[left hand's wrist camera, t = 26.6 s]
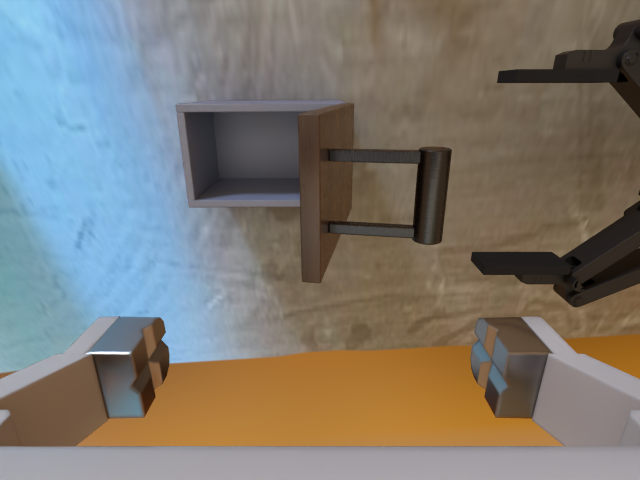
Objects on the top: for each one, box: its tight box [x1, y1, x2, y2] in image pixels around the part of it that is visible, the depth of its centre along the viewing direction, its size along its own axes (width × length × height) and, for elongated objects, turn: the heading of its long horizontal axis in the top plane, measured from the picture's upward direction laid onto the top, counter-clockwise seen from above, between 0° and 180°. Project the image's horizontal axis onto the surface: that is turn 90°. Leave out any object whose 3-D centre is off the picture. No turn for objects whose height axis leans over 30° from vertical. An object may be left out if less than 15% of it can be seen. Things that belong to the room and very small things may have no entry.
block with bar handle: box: [298, 103, 452, 283], centre depth 29 cm, size 16×10×8 cm
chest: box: [176, 100, 345, 207], centre depth 43 cm, size 16×10×11 cm, turn 90°
